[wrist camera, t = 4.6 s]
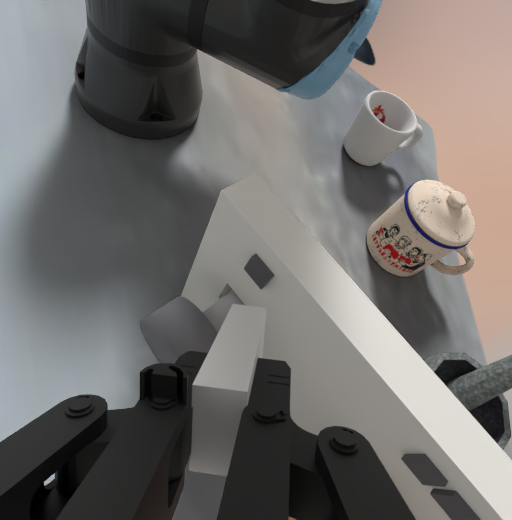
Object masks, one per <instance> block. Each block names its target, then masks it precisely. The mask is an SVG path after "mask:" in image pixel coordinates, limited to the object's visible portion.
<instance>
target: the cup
mask: <svg viewBox="0 0 512 520" xmlns="http://www.w3.org/2000/svg"><path fill="white" fill-rule="evenodd" d="M414 132H415V133H414ZM413 133H414V135H413V136H412V137H411V138H409V139H408V140H406V139H407V138H408V137H409V136H411V135H412V134H413ZM422 135H423V130H422V127H421V126H420V125H419V124H418V123H417V119H416V116H415V114H414V112H413V110H412V109H411V108H410V107H409V105H408V104H407V103H406V102H405V101H403V100H402V99H401V98H399V97H398V96H396V95H394V94H392V93H389V92H386V91H374V92H371V93H370V94H369V95H368V96H367V97H366V98H365V100H364V102H363V104H362V106H361V108H360V109H359V111H358V113H357V115H356V117H355V119H354V120H353V122H352V124H351V126H350V128H349V129H348V131H347V133H346V136H345V139H344V146H345V150H346V152H347V153H348V155H349V156H350V157H351V158H352V159H353V160H354V161H356V162H357V163H359V164H362V165H365V166H373V165H376V164H378V163H380V162H381V161H383V160H384V159H385V158H386V157H387V156H388V155H389V154H391V153H392V152H393V151H394V150H406V149H408V148H410V147H412V146H413V145H415V144H416V143H417V142H418V141H419V140H420V139H421V137H422ZM405 140H406V141H405Z"/></svg>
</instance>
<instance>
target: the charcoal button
mask: <svg viewBox="0 0 512 520" xmlns="http://www.w3.org/2000/svg"><path fill="white" fill-rule="evenodd" d="M232 304H238V305H245V304H244V303H243V302H242V300H241V299H240V298H239V297H238V296H237V294H236V293H235V292H234V291H232V292H230V293H229V294H227V295H226V296H224V297H223V298H222V299H220V300H219V301H217V302H216V303H215V304H213V305H212V306H210V307H209V308H208V309H206V310H205V311H203V312H202V311H201V310H200V309H199V308H198V307H197V306H196V305H194V304H193V303H192V302H191V301H189V300H188V299H186V298H184V297H181V296H178V297H176V298H175V299H173V300H172V301H170V302H168V303H167V304H165V305H164V306H162V307H161V308H159V309H158V310H156V311H155V312H153V313H152V314H150V315H149V316H147V317H146V318H144V319H142V320H141V321H140V326H141V330H142V333H143V335H144V337H145V339H146V341H147V343H148V345H149V347H150V349H151V350H152V352H153V353H154V355H155V357H156V358H157V360H158V361H159V362H160V363H173V364H175V362H176V361H177V359H178V358H179V356H181V355H183V354H184V353H186V352H188V351H197V352H205V353H208V352H209V350H210V348H211V346H212V344H213V342H214V340H215V338H216V336H217V334H218V332H219V330H220V328H221V326H222V324H223V322H224V320H225V318H226V316H227V314H228V312H229V310H230V308H231V306H232Z"/></svg>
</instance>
